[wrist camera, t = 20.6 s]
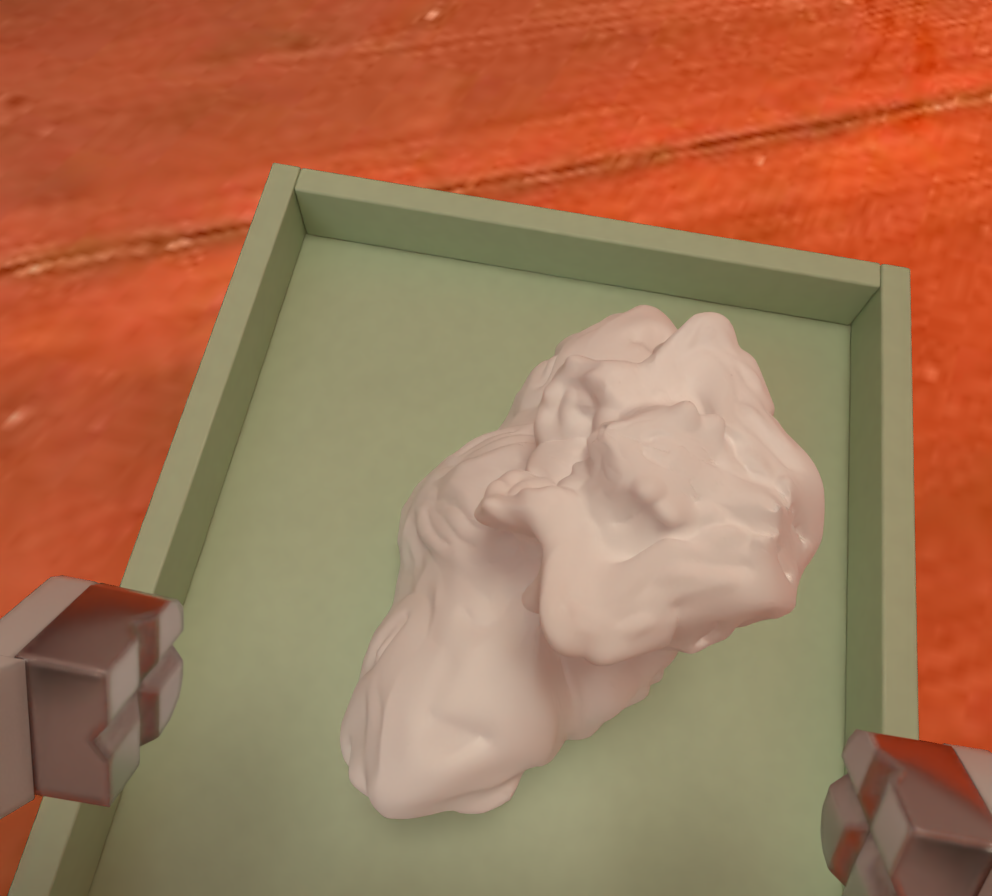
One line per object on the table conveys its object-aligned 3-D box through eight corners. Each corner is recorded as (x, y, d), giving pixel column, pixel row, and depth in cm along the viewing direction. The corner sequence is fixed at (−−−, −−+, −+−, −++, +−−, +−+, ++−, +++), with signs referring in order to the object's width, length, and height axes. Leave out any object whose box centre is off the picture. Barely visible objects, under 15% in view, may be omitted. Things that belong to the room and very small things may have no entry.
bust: (426, 825, 21) (839, 1105, 11) (164, 678, 17) (445, 905, 8) (630, 435, 25) (1051, 406, 16) (451, 257, 22) (851, 88, 12)
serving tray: (868, 318, 25) (911, 267, 23) (864, 1383, 16) (935, 1487, 13) (290, 221, 26) (272, 161, 23) (-38, 1184, 16) (-123, 1249, 14)
